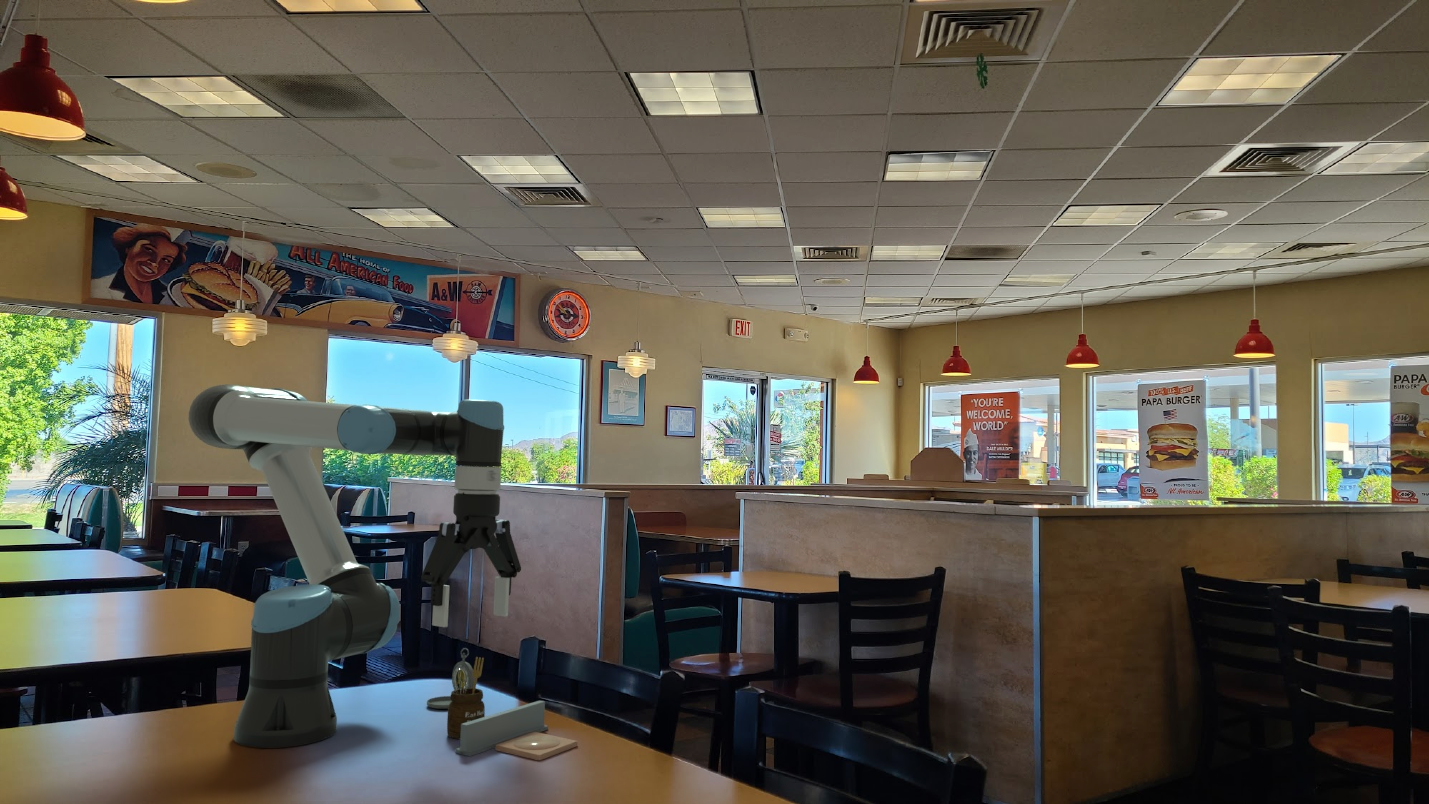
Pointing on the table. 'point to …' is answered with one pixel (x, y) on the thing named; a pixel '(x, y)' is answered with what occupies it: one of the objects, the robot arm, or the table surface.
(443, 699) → the pocket watch
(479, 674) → the utensil holder
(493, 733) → the low wall
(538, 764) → the table surface
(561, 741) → the coaster
